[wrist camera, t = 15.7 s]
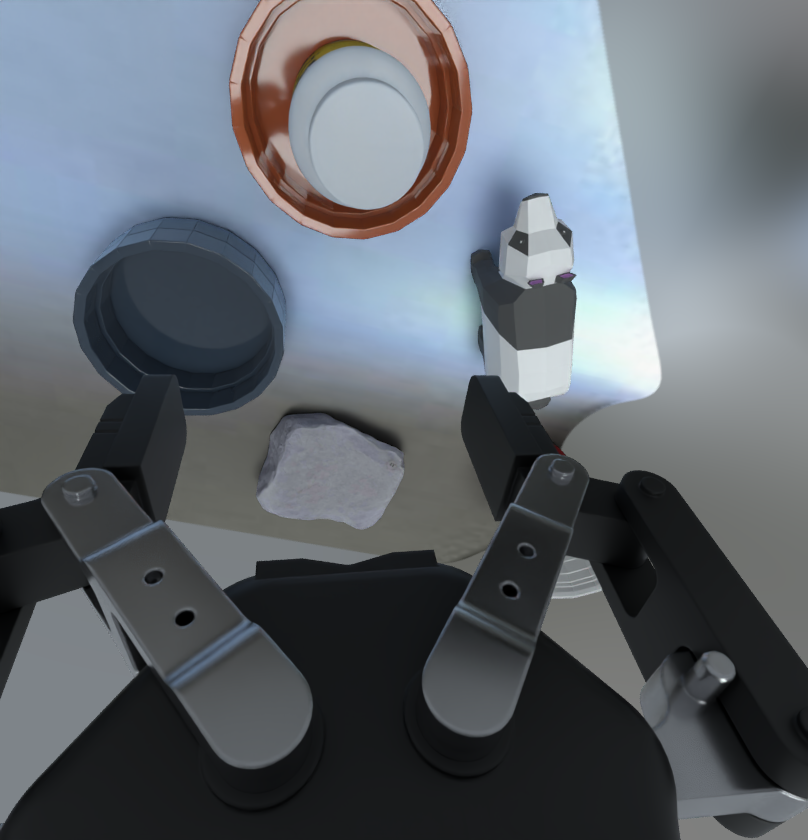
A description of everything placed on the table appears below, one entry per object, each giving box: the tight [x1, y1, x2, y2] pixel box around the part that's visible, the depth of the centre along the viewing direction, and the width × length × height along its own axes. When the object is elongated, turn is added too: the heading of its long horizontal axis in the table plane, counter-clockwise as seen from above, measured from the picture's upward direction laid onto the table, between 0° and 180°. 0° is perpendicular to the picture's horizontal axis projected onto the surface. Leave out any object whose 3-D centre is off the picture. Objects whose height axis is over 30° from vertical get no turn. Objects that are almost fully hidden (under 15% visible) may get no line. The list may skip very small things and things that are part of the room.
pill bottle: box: [288, 39, 431, 210], centre depth 25 cm, size 6×6×12 cm
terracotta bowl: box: [229, 0, 472, 239], centre depth 28 cm, size 12×12×4 cm
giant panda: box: [471, 193, 577, 410], centre depth 34 cm, size 15×6×10 cm, turn 9°
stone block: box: [256, 413, 404, 529], centre depth 45 cm, size 12×5×10 cm
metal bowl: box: [73, 217, 286, 415], centre depth 34 cm, size 12×12×4 cm
